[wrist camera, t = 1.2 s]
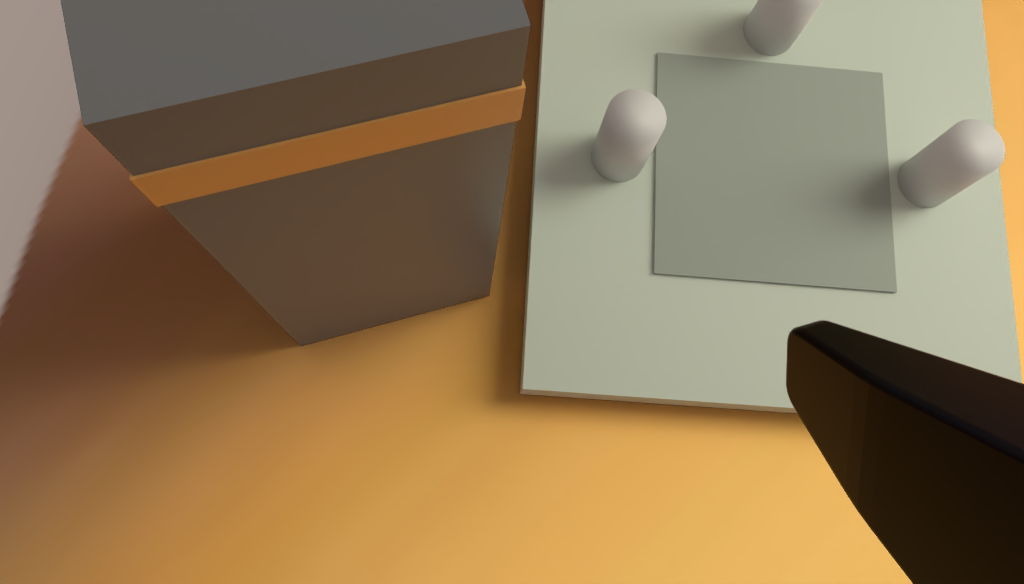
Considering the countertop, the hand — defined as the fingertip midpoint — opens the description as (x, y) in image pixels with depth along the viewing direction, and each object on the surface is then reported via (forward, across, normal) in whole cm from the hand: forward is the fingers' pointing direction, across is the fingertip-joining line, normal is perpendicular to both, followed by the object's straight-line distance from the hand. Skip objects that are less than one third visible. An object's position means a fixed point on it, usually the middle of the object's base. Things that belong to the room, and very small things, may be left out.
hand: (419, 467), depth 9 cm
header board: (+14, -12, +5) cm, 19 cm away
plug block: (+15, 0, +4) cm, 15 cm away
